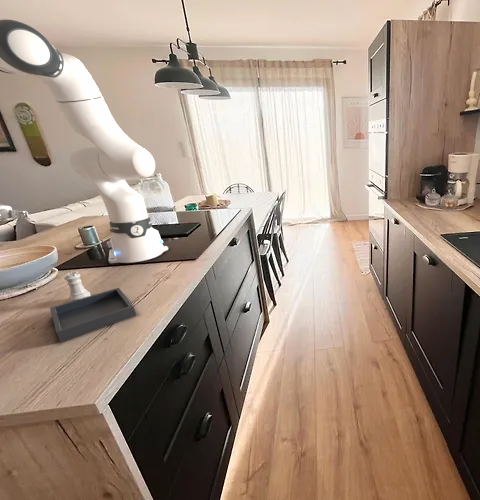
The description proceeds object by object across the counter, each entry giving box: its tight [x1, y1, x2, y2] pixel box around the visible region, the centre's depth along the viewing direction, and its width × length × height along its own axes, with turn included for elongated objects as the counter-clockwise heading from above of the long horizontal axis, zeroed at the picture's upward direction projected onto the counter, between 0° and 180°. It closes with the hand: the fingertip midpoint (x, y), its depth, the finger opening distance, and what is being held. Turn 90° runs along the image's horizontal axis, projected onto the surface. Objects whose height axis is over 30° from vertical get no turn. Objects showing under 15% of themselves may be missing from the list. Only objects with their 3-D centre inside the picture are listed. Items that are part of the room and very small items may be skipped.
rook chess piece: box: [64, 271, 93, 302], centre depth 76 cm, size 4×4×8 cm
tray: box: [49, 287, 137, 343], centre depth 70 cm, size 15×14×3 cm
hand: (14, 216), depth 67 cm, fingers open, 8 cm apart
